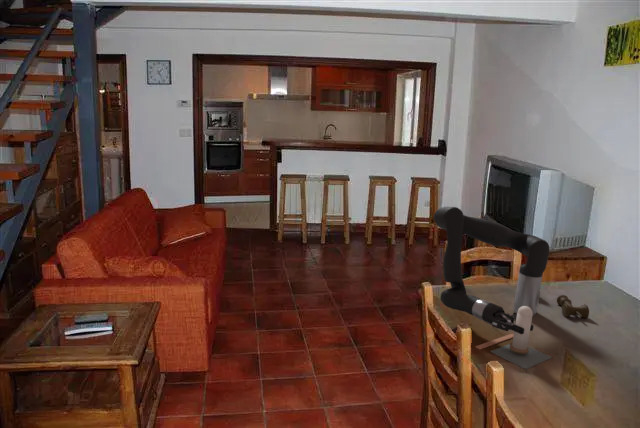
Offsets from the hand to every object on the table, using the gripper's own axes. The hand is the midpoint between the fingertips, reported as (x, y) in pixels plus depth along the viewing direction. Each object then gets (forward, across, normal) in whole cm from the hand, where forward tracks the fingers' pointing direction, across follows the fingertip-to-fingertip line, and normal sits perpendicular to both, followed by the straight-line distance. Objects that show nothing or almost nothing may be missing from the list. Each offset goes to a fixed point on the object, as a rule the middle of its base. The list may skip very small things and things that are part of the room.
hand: (528, 329), depth 183 cm
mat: (-1, 0, +10) cm, 10 cm away
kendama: (-13, +55, +11) cm, 57 cm away
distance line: (-12, +1, +10) cm, 16 cm away
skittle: (-2, 0, +8) cm, 9 cm away
